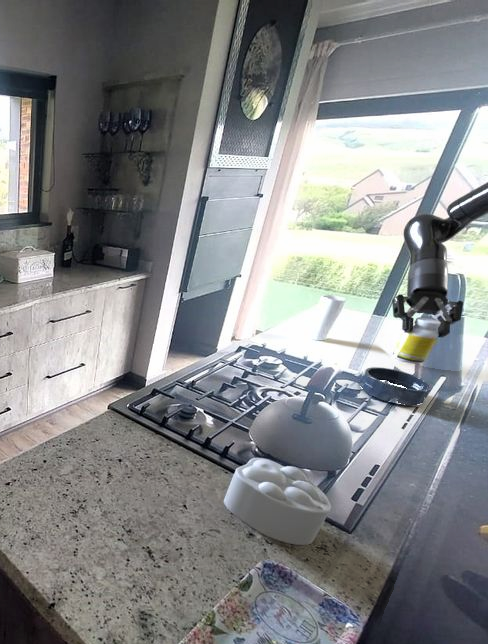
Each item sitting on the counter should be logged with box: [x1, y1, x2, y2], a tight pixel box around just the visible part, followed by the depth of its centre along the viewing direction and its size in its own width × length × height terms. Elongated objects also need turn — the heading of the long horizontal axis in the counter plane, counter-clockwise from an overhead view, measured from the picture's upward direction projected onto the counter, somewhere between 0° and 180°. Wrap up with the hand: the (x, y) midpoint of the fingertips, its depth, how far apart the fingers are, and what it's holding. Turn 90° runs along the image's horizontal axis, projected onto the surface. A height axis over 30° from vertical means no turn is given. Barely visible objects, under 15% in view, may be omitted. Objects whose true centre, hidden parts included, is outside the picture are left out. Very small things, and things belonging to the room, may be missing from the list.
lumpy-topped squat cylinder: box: [223, 457, 332, 546], centre depth 68 cm, size 10×13×9 cm
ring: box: [358, 366, 433, 406], centre depth 108 cm, size 13×13×5 cm
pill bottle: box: [392, 316, 441, 365], centre depth 109 cm, size 6×6×12 cm
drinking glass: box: [307, 294, 346, 342], centre depth 141 cm, size 7×7×15 cm
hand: (425, 333), depth 107 cm, fingers closed on pill bottle, 6 cm apart
